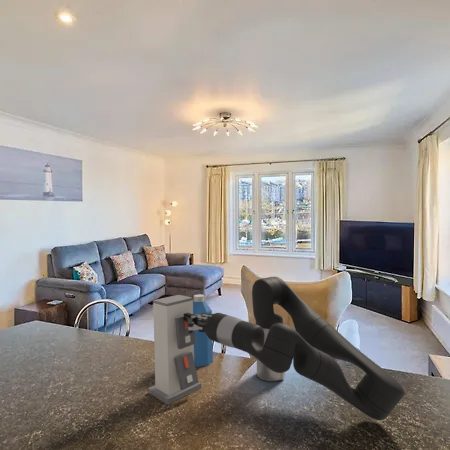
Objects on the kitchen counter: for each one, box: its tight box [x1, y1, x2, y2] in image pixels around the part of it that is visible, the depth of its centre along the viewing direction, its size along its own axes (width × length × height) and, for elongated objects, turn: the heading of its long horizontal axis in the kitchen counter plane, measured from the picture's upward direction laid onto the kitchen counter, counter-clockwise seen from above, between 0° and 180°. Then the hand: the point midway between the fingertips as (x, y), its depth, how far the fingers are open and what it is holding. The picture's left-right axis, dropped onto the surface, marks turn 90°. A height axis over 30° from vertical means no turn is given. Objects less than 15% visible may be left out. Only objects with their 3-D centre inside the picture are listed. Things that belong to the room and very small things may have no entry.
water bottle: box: [193, 293, 214, 368], centre depth 125 cm, size 9×9×25 cm
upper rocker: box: [175, 316, 196, 349], centre depth 100 cm, size 1×6×9 cm, turn 136°
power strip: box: [148, 294, 202, 405], centre depth 104 cm, size 10×13×29 cm
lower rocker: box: [174, 352, 199, 390], centre depth 100 cm, size 1×6×9 cm, turn 136°
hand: (185, 316), depth 100 cm, fingers closed
